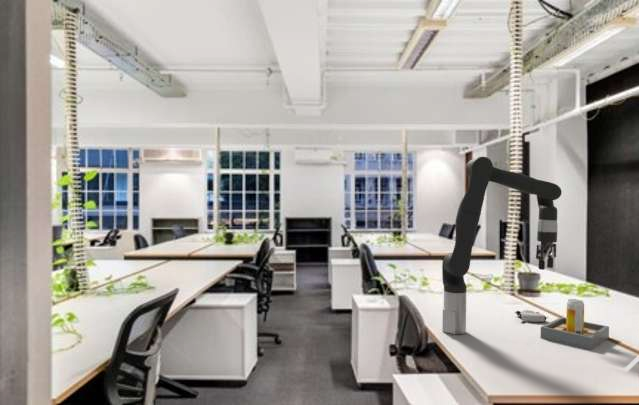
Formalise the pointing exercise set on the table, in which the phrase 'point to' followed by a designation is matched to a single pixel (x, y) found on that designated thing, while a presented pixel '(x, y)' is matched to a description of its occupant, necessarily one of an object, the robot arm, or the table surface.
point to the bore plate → (586, 332)
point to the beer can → (575, 316)
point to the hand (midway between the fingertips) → (545, 268)
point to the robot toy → (531, 316)
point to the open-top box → (573, 338)
